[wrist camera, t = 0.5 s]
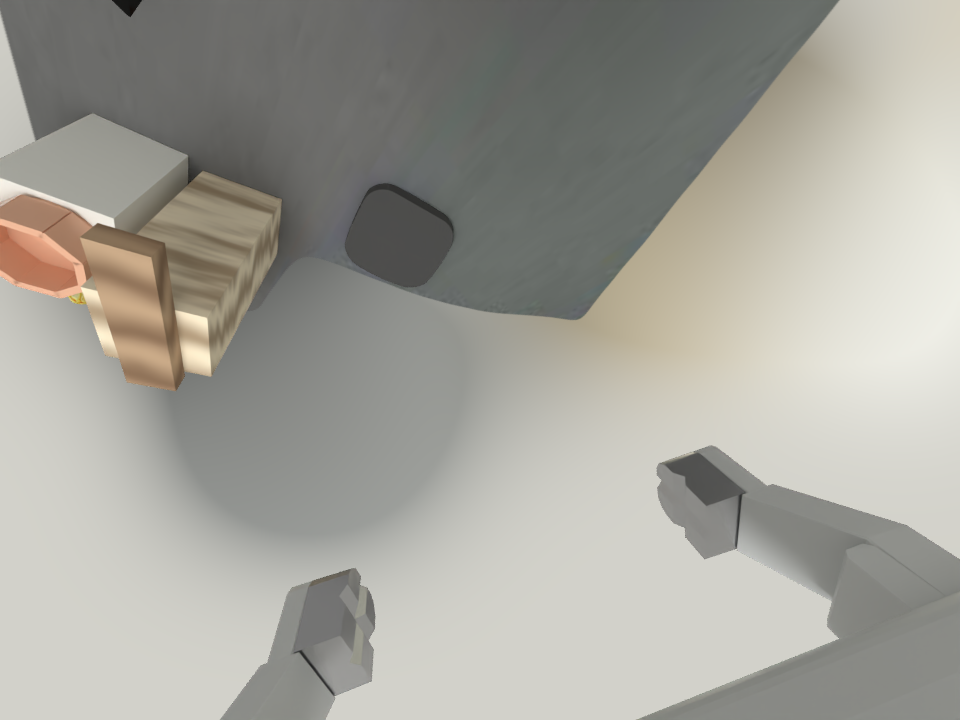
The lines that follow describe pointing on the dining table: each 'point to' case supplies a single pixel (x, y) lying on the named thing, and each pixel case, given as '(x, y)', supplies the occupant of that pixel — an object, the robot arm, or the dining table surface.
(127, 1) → the black slotted wedge
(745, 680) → the robot arm
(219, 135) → the dining table surface
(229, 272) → the stand
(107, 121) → the block
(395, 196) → the media streaming box
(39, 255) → the bowl
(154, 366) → the lid slat
